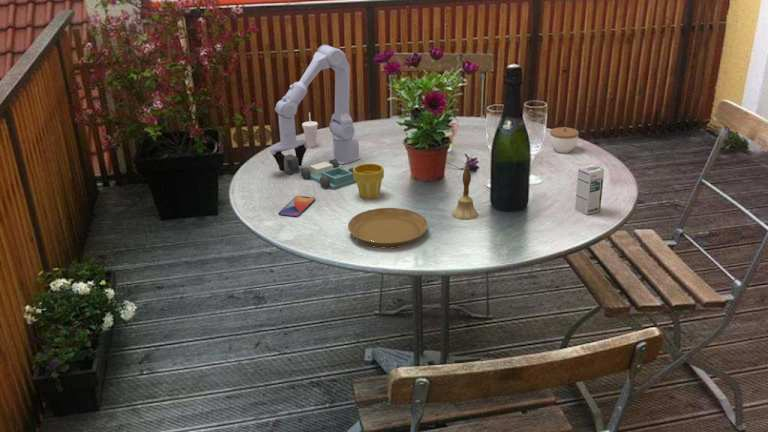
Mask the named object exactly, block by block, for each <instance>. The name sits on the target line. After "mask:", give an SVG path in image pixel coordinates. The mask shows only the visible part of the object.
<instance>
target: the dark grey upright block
mask: <svg viewBox="0 0 768 432" xmlns="http://www.w3.org/2000/svg"><path fill="white" fill-rule="evenodd" d="M282 173H285V174H287V175H288V176H292V175H296V174H299V173H300V166H299V163H298V157H296V155H294V154H292V153H290V154H285V156H284V171H282Z"/></svg>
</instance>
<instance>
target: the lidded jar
mask: <svg viewBox="0 0 768 432" xmlns="http://www.w3.org/2000/svg"><path fill="white" fill-rule="evenodd" d="M549 133H550V135H549V140H550V141H549V142H550V145H551V147H552V148H553V149H554V151H555V152H556V153H560V154H569V153H571V151H572V150H573V149H574V148H575V147H576V145H578V144H577V143H578V140H579V139H578V138H579V134H580V133H579V130H577V129H575V128H572V127H566V126H563V127H561V126H560V127H555V128H552V129H550V131H549Z"/></svg>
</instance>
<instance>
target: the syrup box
mask: <svg viewBox="0 0 768 432" xmlns="http://www.w3.org/2000/svg"><path fill="white" fill-rule="evenodd" d="M604 174H605V169H604V168H602V167H600V166H598V165H595V164H589V165H585V166H581V167H578V168H577V178H576V179H577V180H576V191H575V204H574V209H575V210H577V211H578V212H580V213H582V214H584V215H586V216H587V215H591V214H594V213H599V212H601V209H602V208H601V207H602V197H603V196H602V195H603V189H604V188H603V185H604V176H605V175H604Z"/></svg>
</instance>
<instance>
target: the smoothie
mask: <svg viewBox="0 0 768 432" xmlns="http://www.w3.org/2000/svg"><path fill="white" fill-rule="evenodd" d="M308 117H309V118H308V120H309V121H305V122H302V124H301V125H302V126H301V127H302V129H303V133H304V140H306V141H307V146H306V148H309V149H312V148H316V147H317V137H318V134H317V133H318V127H319V123H318V122H317V121H312V119H311V112H308Z"/></svg>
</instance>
